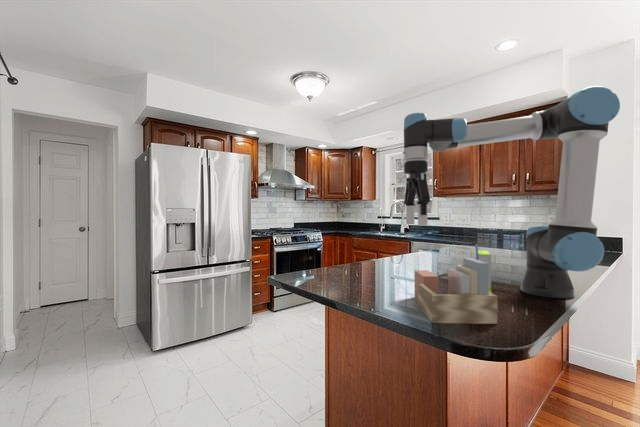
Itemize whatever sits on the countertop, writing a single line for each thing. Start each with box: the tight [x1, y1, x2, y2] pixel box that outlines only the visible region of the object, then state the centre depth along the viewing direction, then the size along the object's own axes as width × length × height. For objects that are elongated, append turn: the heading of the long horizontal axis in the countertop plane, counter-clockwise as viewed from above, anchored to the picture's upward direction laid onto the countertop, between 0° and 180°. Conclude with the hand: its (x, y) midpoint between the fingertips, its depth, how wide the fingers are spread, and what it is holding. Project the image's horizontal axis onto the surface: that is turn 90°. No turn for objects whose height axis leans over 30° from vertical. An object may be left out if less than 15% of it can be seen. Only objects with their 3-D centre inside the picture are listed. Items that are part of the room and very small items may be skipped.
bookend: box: [447, 268, 470, 295], centre depth 85 cm, size 2×9×12 cm, turn 178°
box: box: [475, 244, 492, 293], centre depth 102 cm, size 10×4×17 cm, turn 157°
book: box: [414, 269, 439, 302], centre depth 99 cm, size 4×10×9 cm, turn 178°
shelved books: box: [455, 257, 489, 295], centre depth 85 cm, size 4×10×15 cm, turn 178°
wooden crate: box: [418, 284, 498, 325], centre depth 86 cm, size 16×13×7 cm
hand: (416, 224), depth 105 cm, fingers open, 13 cm apart
